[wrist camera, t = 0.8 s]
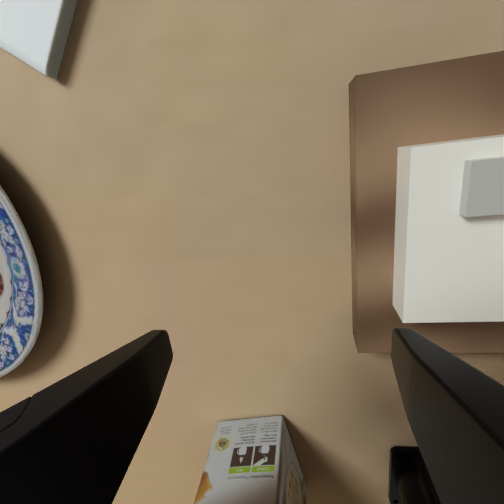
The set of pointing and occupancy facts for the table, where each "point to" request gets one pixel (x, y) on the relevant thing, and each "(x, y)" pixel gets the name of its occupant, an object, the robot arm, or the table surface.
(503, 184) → the white panel with tab
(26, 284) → the ceramic plate
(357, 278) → the brown flat block
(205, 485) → the coffee box
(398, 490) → the robot arm
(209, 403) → the table surface
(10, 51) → the external hard drive
